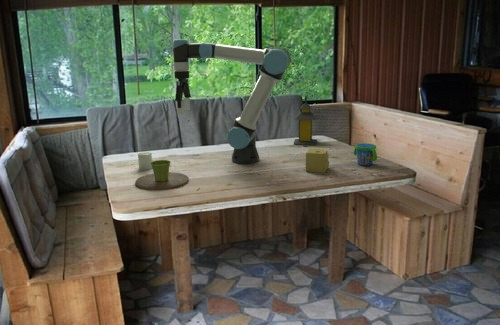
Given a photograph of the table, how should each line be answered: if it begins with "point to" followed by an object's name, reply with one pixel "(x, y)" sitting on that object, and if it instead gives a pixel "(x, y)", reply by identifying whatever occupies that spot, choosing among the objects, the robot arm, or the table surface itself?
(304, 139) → the lantern
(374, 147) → the snack cup
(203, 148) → the table surface
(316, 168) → the cheese
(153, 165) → the plant pot
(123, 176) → the table surface
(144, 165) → the grey small cylinder
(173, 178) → the trivet
